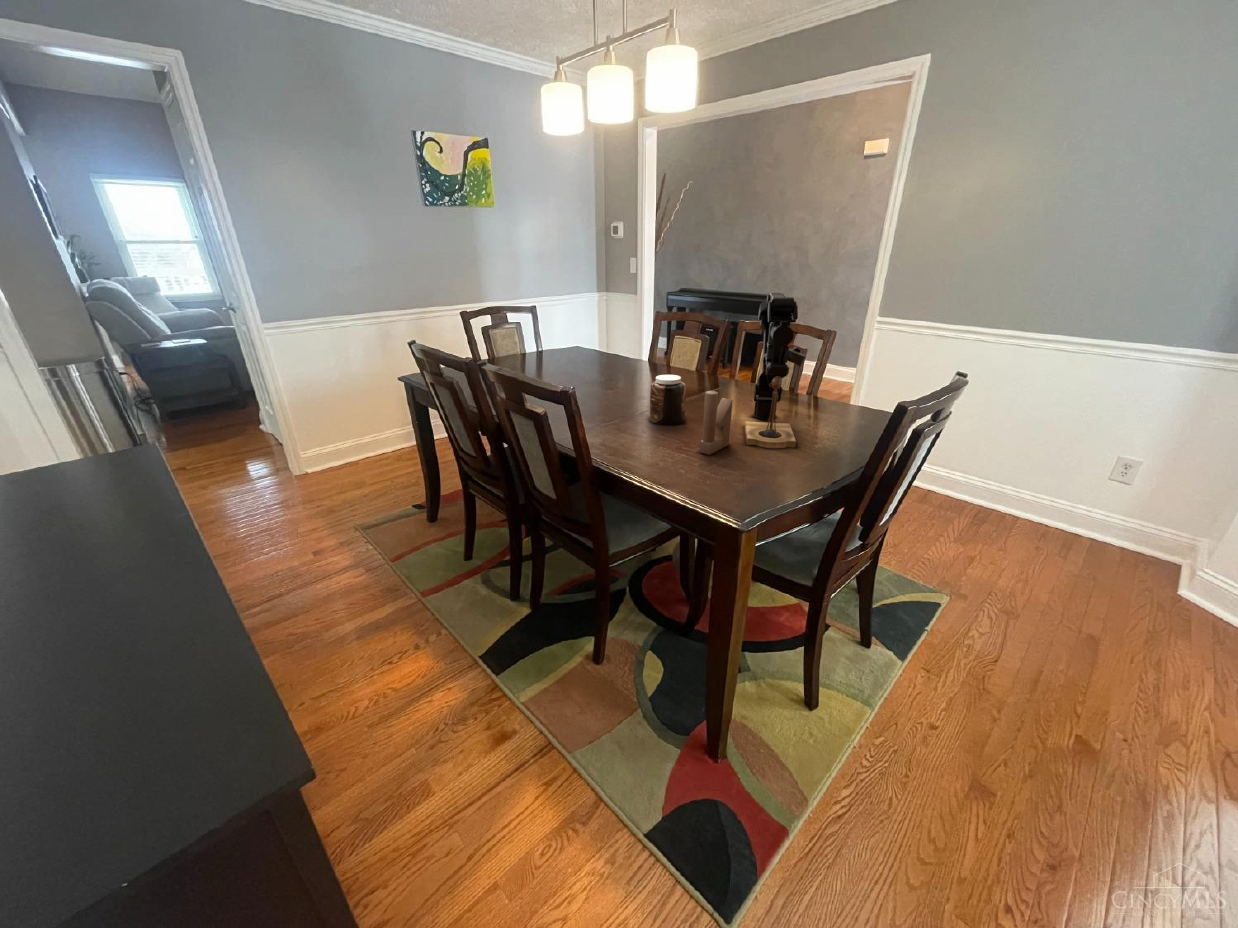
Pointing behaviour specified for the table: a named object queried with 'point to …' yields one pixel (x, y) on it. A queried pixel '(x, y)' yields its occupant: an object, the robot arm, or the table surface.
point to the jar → (667, 400)
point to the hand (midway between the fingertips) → (771, 390)
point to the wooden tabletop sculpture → (773, 409)
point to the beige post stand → (715, 423)
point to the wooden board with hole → (755, 438)
